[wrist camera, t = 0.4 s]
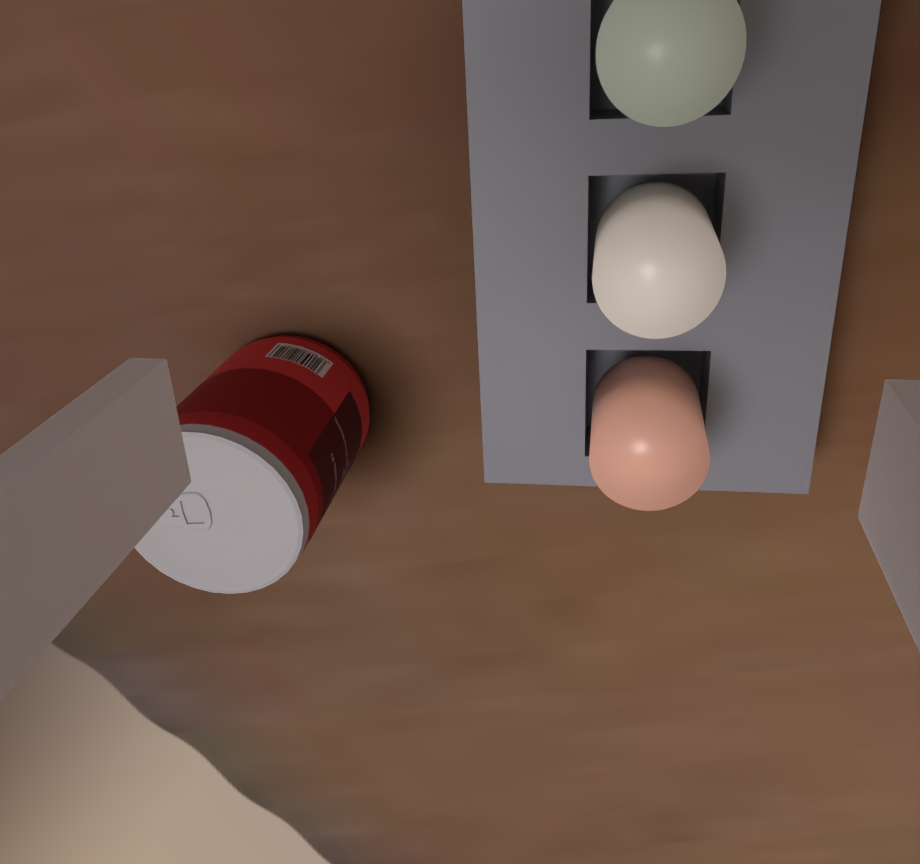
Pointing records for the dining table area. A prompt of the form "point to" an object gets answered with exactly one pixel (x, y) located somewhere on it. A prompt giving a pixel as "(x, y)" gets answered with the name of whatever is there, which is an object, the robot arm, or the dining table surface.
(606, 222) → the button cream
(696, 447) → the button terracotta
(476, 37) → the console
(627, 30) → the button sage
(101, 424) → the robot arm
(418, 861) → the dining table surface
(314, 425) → the canned food
